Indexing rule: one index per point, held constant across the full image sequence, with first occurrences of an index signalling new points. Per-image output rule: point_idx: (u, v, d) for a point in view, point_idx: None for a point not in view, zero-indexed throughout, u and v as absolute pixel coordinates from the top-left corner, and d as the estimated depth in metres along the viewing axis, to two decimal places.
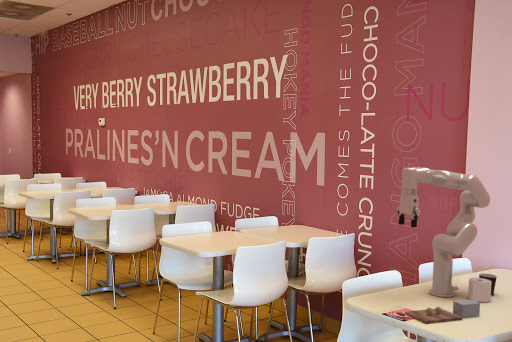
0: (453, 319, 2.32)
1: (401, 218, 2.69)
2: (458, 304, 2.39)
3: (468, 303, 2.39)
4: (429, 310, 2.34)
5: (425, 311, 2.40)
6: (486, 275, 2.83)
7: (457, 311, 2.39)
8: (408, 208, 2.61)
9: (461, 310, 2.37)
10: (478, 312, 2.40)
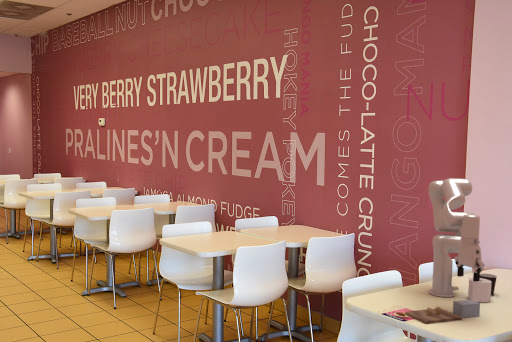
0: (453, 319, 2.32)
1: (460, 269, 2.44)
2: (458, 304, 2.39)
3: (468, 303, 2.39)
4: (429, 310, 2.34)
5: (425, 311, 2.40)
6: (486, 275, 2.83)
7: (457, 311, 2.39)
8: (470, 260, 2.36)
9: (461, 310, 2.37)
10: (478, 312, 2.40)
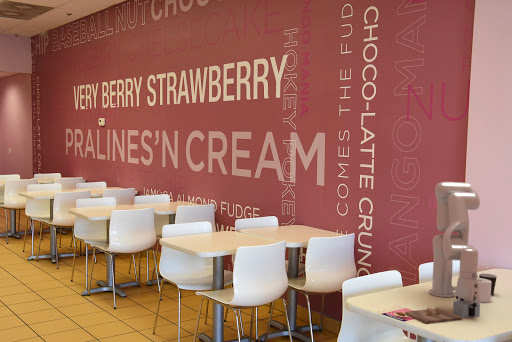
0: (453, 319, 2.32)
1: None
2: (458, 304, 2.39)
3: (468, 303, 2.39)
4: (429, 310, 2.34)
5: (425, 311, 2.40)
6: (486, 275, 2.83)
7: (457, 311, 2.39)
8: (468, 294, 2.37)
9: (461, 310, 2.37)
10: (478, 312, 2.40)
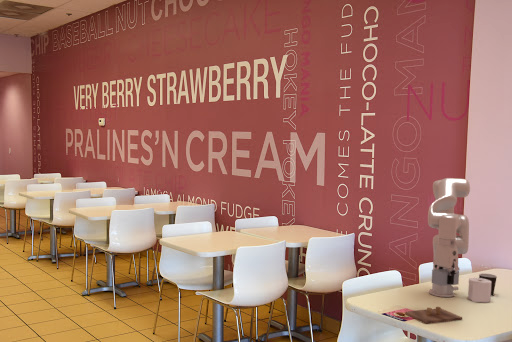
0: (453, 319, 2.32)
1: None
2: (437, 272, 2.35)
3: (447, 271, 2.35)
4: (429, 310, 2.34)
5: (425, 311, 2.40)
6: (486, 275, 2.83)
7: (436, 279, 2.35)
8: (446, 261, 2.33)
9: (440, 278, 2.33)
10: (457, 280, 2.36)
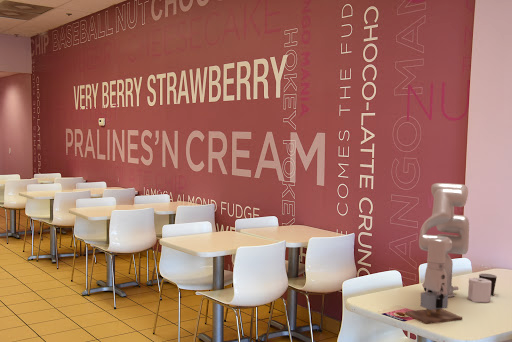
0: (453, 319, 2.32)
1: None
2: (425, 295, 2.34)
3: (436, 294, 2.34)
4: (429, 310, 2.34)
5: (425, 311, 2.40)
6: (486, 275, 2.83)
7: (424, 303, 2.34)
8: (435, 285, 2.32)
9: (428, 301, 2.32)
10: (446, 304, 2.35)
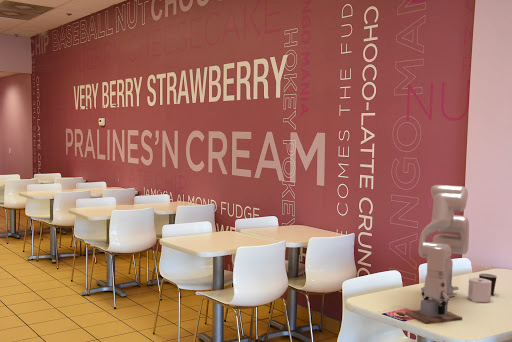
0: (453, 319, 2.32)
1: None
2: (425, 303, 2.34)
3: (435, 302, 2.34)
4: None
5: None
6: (486, 275, 2.83)
7: (424, 310, 2.35)
8: (435, 293, 2.32)
9: (428, 309, 2.32)
10: (446, 311, 2.35)
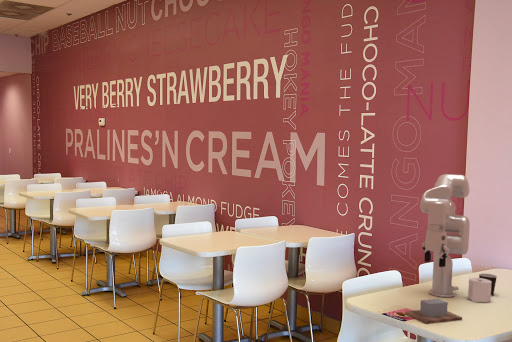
0: (453, 319, 2.32)
1: (427, 255, 2.46)
2: (425, 303, 2.34)
3: (435, 302, 2.34)
4: None
5: None
6: (486, 275, 2.83)
7: (424, 310, 2.35)
8: (436, 246, 2.38)
9: (428, 309, 2.32)
10: (446, 311, 2.35)
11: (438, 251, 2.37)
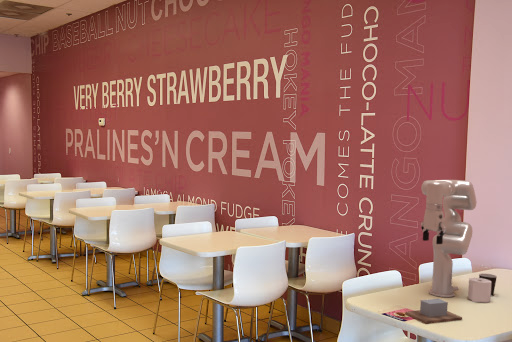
0: (453, 319, 2.32)
1: (425, 234, 2.60)
2: (425, 303, 2.34)
3: (435, 302, 2.34)
4: None
5: None
6: (486, 275, 2.83)
7: (424, 310, 2.35)
8: (433, 224, 2.53)
9: (428, 309, 2.32)
10: (446, 311, 2.35)
11: (435, 229, 2.52)
